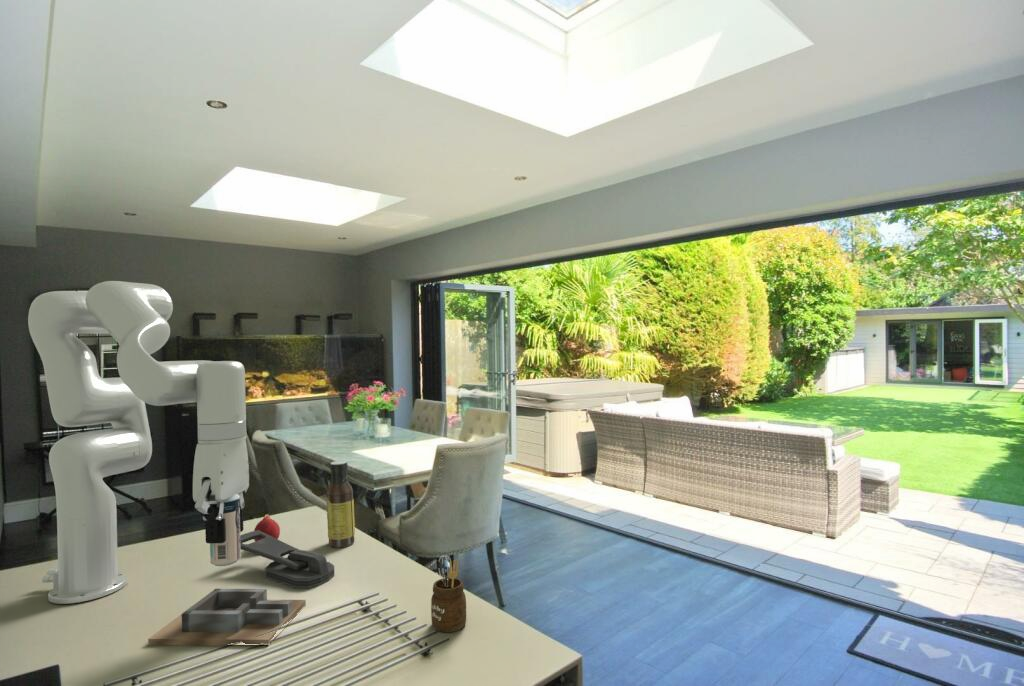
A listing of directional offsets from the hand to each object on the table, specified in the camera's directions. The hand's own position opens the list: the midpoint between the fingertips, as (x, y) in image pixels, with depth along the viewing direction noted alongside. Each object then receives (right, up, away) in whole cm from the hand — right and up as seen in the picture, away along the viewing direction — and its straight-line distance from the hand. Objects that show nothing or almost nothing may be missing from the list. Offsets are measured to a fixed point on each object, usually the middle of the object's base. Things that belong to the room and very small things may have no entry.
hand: (225, 535), depth 97 cm
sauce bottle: (+8, -15, +39) cm, 42 cm away
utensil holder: (+39, -15, -2) cm, 42 cm away
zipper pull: (+1, -16, +22) cm, 27 cm away
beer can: (0, -5, 0) cm, 5 cm away
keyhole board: (+1, -15, 0) cm, 15 cm away
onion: (-9, -16, +37) cm, 41 cm away
